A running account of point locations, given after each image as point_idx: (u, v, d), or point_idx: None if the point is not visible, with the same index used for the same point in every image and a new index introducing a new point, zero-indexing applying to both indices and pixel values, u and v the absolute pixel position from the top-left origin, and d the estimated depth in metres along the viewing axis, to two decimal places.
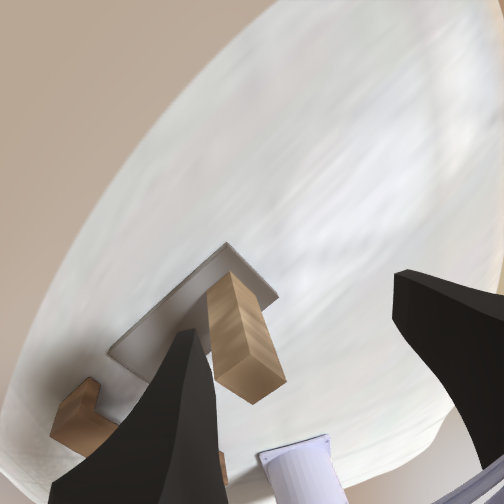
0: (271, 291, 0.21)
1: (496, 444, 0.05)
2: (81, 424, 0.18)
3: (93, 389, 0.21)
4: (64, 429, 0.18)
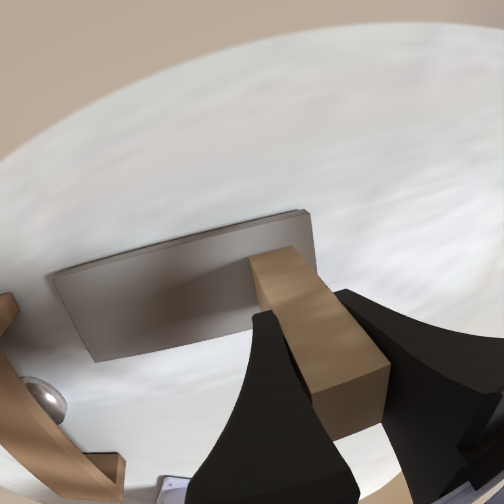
0: None
1: (425, 491, 0.05)
2: None
3: (8, 312, 0.12)
4: None
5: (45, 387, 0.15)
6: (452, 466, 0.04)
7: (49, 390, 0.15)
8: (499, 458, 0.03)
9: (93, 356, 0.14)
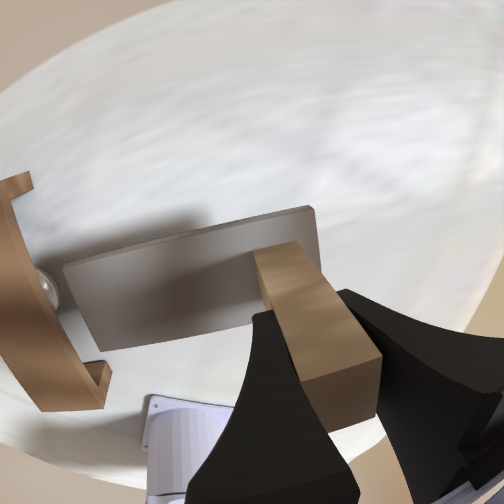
0: None
1: (425, 490, 0.05)
2: None
3: (24, 183, 0.15)
4: None
5: (42, 272, 0.18)
6: (452, 466, 0.04)
7: (45, 275, 0.18)
8: (499, 458, 0.03)
9: (99, 345, 0.15)
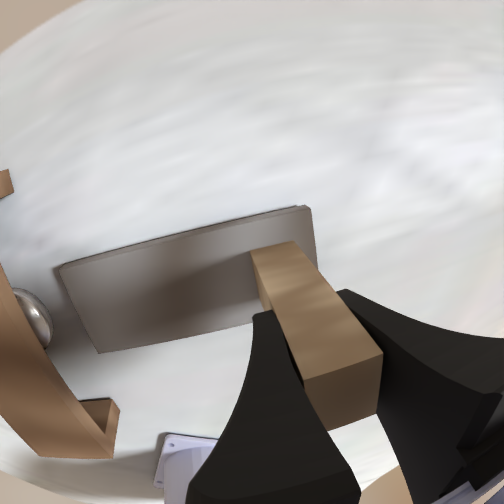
0: None
1: (425, 491, 0.05)
2: None
3: (1, 185, 0.11)
4: None
5: (27, 296, 0.13)
6: (452, 466, 0.04)
7: (32, 300, 0.14)
8: (499, 458, 0.03)
9: (97, 347, 0.14)
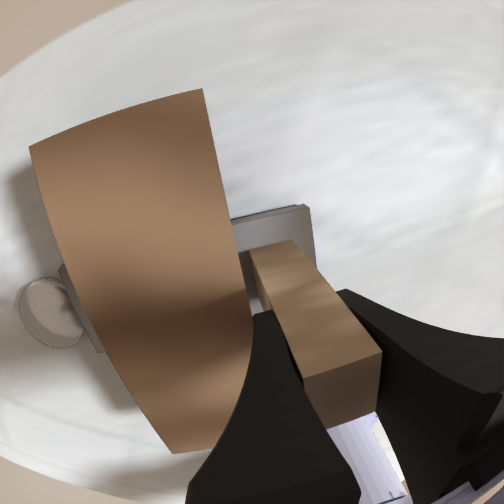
0: None
1: (425, 491, 0.05)
2: (166, 126, 0.09)
3: None
4: (97, 130, 0.08)
5: (61, 285, 0.14)
6: (452, 466, 0.04)
7: None
8: (499, 458, 0.03)
9: (96, 346, 0.15)
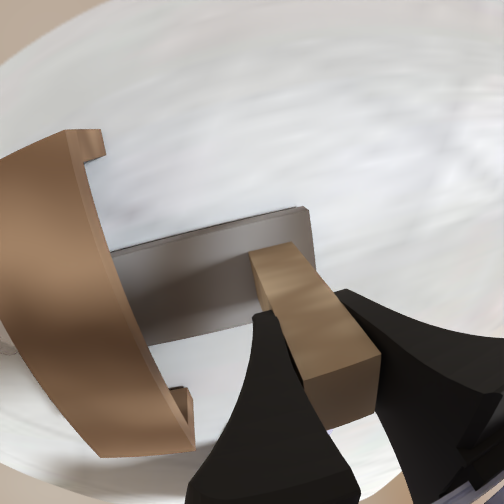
0: None
1: (425, 491, 0.05)
2: (39, 168, 0.08)
3: (97, 144, 0.11)
4: None
5: None
6: (452, 466, 0.04)
7: None
8: (499, 458, 0.03)
9: None
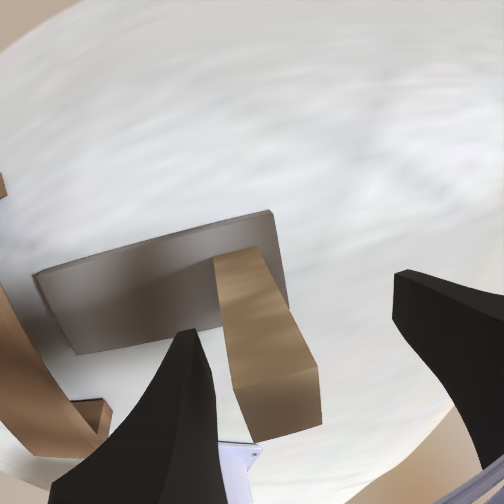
0: (286, 297, 0.15)
1: (496, 444, 0.05)
2: None
3: None
4: None
5: None
6: None
7: None
8: None
9: (74, 349, 0.15)
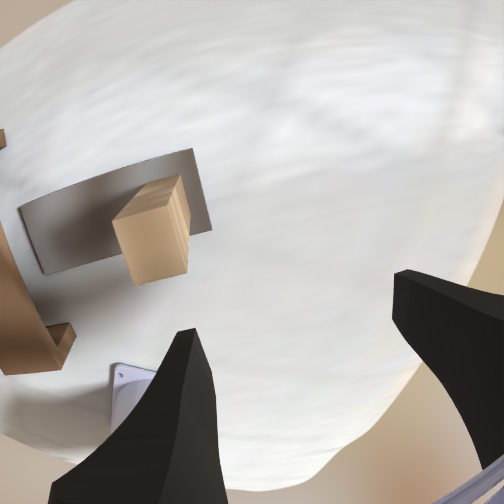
0: (208, 219, 0.19)
1: (496, 444, 0.05)
2: None
3: None
4: None
5: None
6: None
7: None
8: None
9: (44, 269, 0.18)
